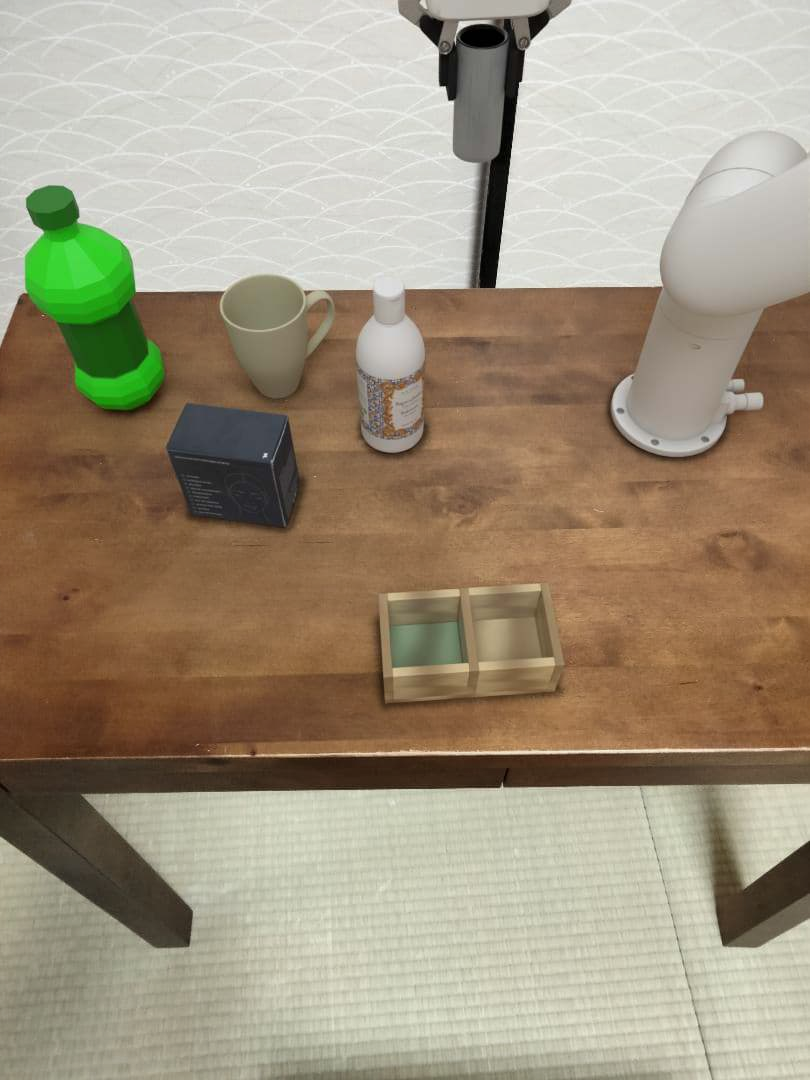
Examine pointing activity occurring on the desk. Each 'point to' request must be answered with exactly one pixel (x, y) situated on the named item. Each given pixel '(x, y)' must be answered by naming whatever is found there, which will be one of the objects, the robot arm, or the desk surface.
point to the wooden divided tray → (469, 642)
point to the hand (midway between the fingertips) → (479, 89)
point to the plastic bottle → (91, 302)
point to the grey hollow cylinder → (479, 92)
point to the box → (235, 464)
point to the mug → (272, 329)
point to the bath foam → (390, 372)
